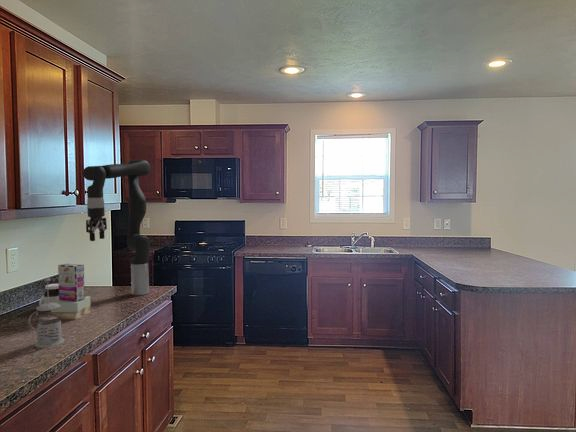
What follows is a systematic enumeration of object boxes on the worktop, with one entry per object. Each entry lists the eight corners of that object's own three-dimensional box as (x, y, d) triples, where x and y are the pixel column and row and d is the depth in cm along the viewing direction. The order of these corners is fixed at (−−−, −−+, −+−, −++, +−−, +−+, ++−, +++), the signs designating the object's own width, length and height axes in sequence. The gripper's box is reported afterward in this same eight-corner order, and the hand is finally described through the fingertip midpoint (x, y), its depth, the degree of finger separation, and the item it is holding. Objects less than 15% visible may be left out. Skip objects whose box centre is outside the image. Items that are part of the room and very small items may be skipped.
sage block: (65, 304, 192) (65, 296, 192) (90, 304, 192) (90, 296, 192) (50, 312, 180) (50, 303, 180) (77, 311, 180) (77, 303, 180)
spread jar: (58, 310, 194) (57, 287, 193) (33, 312, 192) (32, 288, 192) (68, 304, 206) (67, 281, 205) (44, 305, 204) (43, 282, 203)
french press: (61, 345, 149) (58, 279, 147) (25, 349, 146) (22, 281, 144) (67, 336, 158) (65, 274, 157) (34, 340, 155) (31, 276, 153)
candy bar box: (85, 299, 187) (84, 264, 186) (76, 301, 182) (75, 266, 181) (67, 297, 191) (66, 263, 190) (58, 299, 186) (57, 264, 185)
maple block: (67, 312, 193) (67, 304, 193) (91, 313, 192) (91, 304, 192) (50, 320, 181) (50, 311, 181) (75, 320, 180) (75, 312, 180)
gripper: (96, 206, 203) (98, 238, 204) (79, 207, 189) (81, 241, 190) (110, 206, 203) (112, 238, 204) (95, 207, 189) (96, 241, 190)
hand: (97, 239), depth 197 cm, fingers open, 8 cm apart
